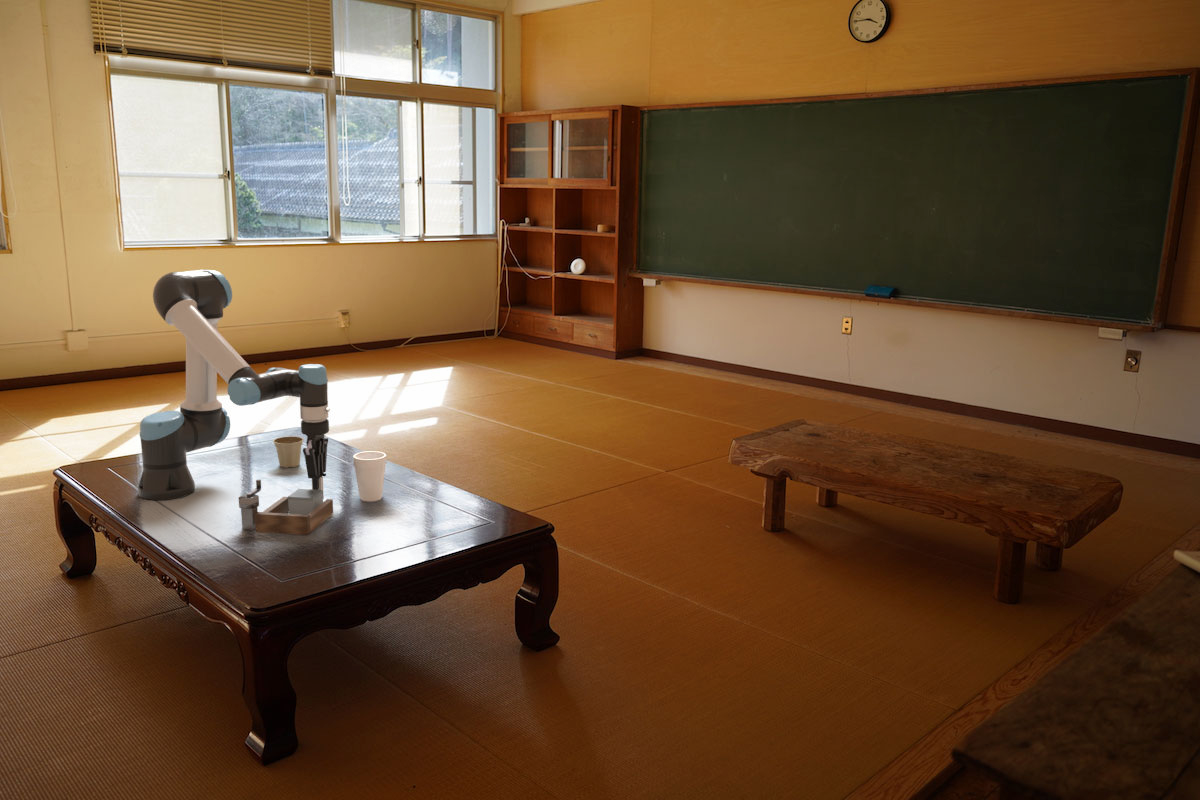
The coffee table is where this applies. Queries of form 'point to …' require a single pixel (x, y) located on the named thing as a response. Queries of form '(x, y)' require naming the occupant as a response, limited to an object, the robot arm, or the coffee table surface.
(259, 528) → the bay
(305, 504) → the gray block
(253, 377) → the robot arm
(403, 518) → the coffee table surface
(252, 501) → the winch
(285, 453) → the flower pot
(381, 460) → the foam cup
